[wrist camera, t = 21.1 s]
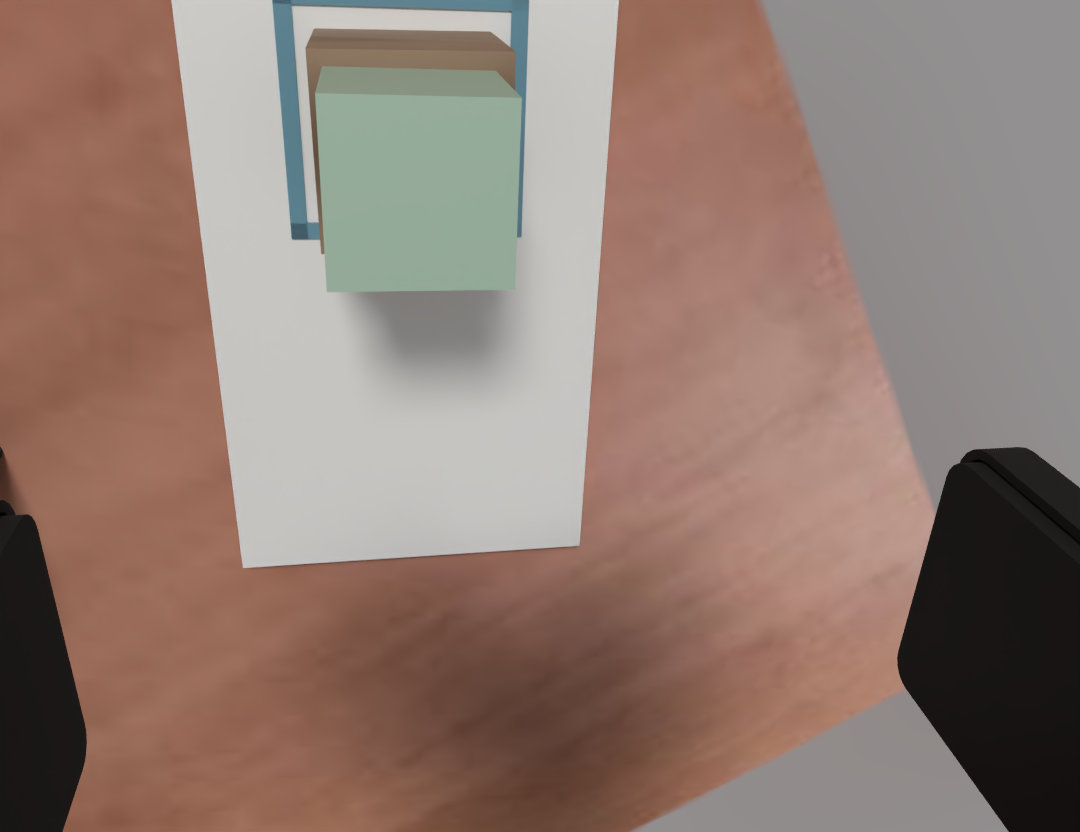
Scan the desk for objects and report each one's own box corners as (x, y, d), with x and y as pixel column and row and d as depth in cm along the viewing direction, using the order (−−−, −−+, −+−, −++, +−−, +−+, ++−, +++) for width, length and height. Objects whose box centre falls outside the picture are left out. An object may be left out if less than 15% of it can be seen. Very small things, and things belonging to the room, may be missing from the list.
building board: (574, 533, 44) (579, 546, 43) (245, 554, 42) (242, 569, 41) (613, -28, 34) (621, -27, 33) (171, -45, 31) (165, -45, 30)
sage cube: (492, 236, 30) (514, 289, 26) (331, 237, 29) (326, 291, 25) (496, 70, 28) (521, 97, 23) (321, 66, 27) (315, 93, 22)
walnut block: (489, 202, 36) (512, 250, 30) (326, 204, 35) (321, 254, 29) (490, 31, 33) (515, 51, 28) (313, 28, 32) (305, 48, 27)
